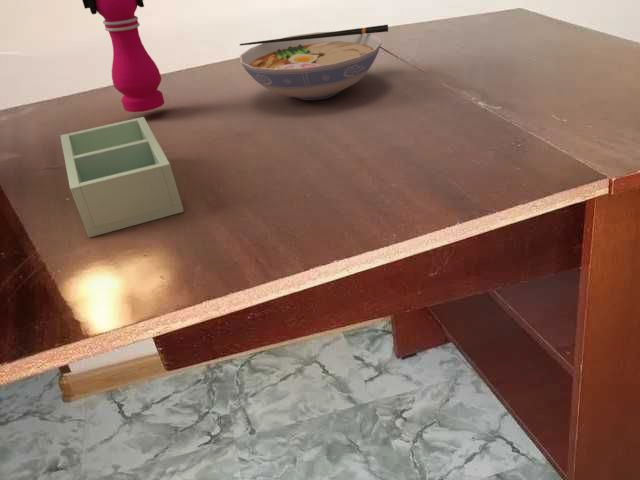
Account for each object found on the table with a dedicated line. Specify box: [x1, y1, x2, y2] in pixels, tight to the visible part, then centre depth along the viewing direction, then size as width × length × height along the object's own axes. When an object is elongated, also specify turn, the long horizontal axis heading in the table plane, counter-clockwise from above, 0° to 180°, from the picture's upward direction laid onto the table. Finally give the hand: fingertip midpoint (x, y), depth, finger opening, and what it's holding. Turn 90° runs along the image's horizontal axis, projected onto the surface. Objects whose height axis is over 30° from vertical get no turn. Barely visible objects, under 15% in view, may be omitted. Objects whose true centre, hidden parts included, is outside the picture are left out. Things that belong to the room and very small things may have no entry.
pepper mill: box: [94, 0, 165, 113], centre depth 107 cm, size 7×7×20 cm
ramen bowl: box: [239, 24, 389, 101], centre depth 113 cm, size 25×23×8 cm
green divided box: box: [59, 116, 185, 239], centre depth 85 cm, size 10×20×6 cm, turn 27°
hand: (117, 8), depth 104 cm, fingers closed on pepper mill, 6 cm apart
